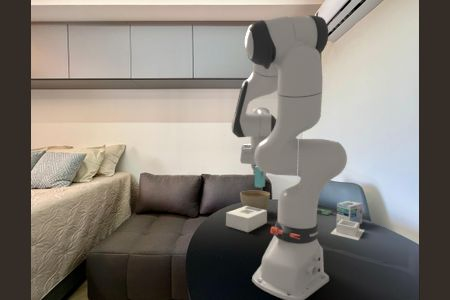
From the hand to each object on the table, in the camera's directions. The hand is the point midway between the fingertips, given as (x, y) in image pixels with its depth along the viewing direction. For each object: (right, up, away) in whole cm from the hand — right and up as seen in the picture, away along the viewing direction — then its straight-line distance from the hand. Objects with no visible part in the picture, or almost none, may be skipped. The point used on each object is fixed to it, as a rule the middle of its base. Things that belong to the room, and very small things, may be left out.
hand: (259, 174), depth 106 cm
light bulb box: (+42, -24, +2) cm, 48 cm away
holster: (+35, -24, -10) cm, 44 cm away
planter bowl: (0, -23, +20) cm, 31 cm away
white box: (-6, -23, +2) cm, 24 cm away
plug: (0, -6, 0) cm, 6 cm away
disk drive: (+34, -24, +20) cm, 46 cm away
